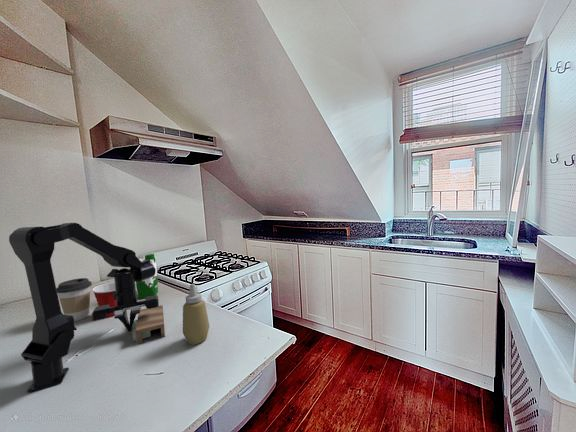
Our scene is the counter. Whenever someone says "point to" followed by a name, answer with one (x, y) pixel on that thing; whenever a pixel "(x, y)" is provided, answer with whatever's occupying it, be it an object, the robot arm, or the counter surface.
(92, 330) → the counter surface
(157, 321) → the bench
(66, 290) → the coffee cup
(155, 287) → the milk carton
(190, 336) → the squeeze bottle
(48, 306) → the robot arm
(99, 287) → the plastic cup
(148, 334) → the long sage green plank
